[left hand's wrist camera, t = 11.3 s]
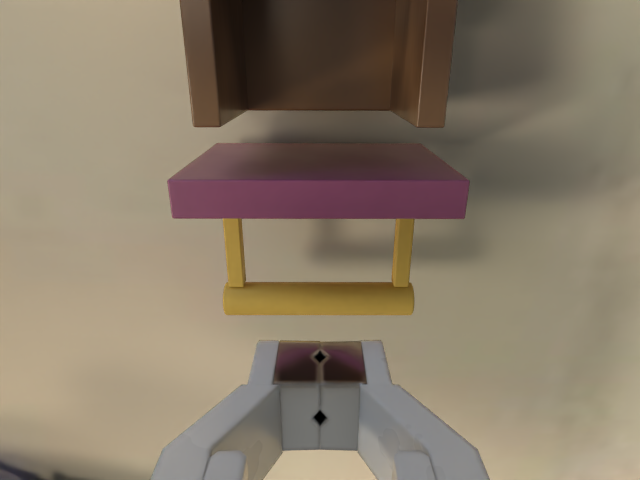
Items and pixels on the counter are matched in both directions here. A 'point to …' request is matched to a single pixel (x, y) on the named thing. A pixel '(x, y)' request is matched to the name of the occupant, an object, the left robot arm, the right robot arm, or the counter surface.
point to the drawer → (318, 158)
